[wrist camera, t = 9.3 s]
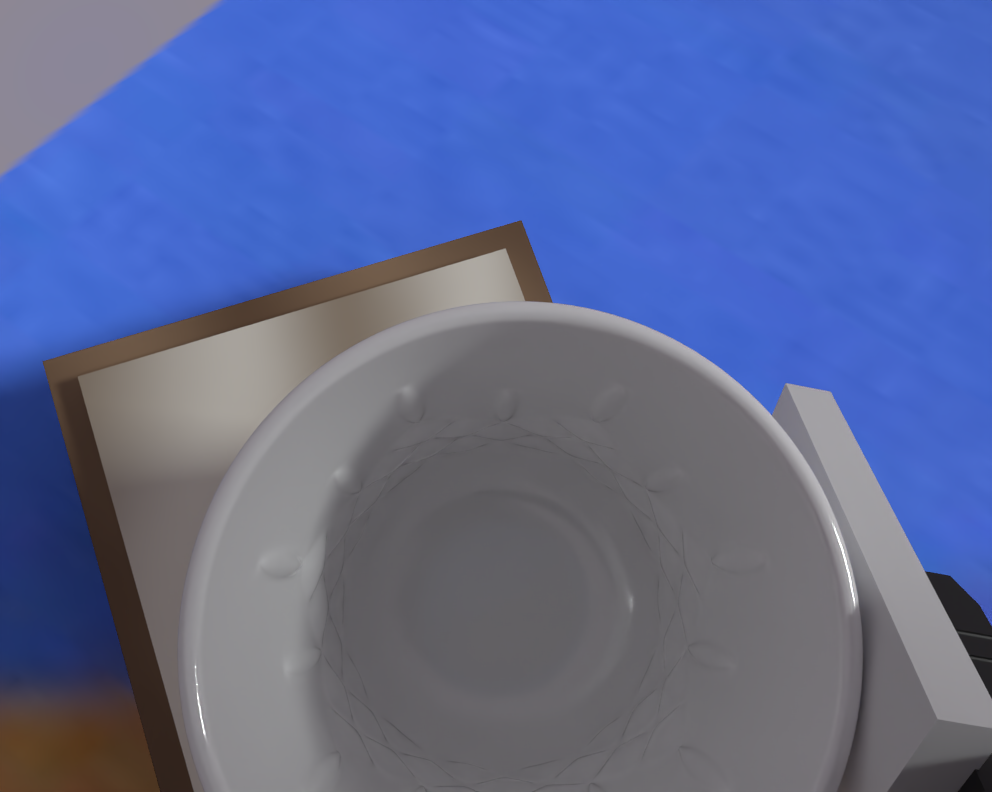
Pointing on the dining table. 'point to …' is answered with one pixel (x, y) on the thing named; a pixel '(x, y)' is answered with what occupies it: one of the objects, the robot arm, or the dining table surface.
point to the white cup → (520, 575)
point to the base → (226, 430)
